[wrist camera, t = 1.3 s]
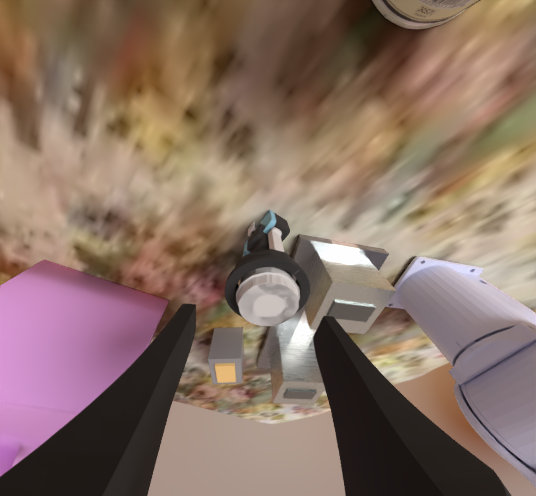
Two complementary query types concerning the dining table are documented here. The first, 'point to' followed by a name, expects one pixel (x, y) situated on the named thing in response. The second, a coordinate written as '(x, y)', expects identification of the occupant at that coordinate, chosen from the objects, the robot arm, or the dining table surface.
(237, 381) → the block
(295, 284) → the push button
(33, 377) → the teapot
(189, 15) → the dining table surface
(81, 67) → the dining table surface
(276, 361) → the rail plate
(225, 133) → the dining table surface
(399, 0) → the coffee can
